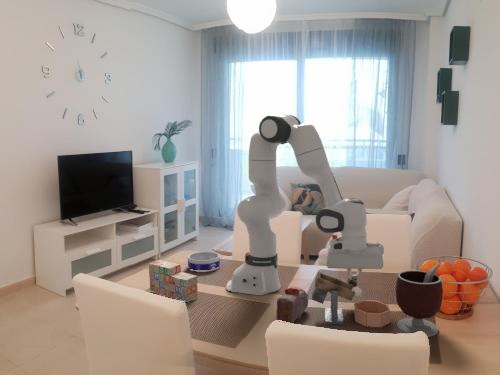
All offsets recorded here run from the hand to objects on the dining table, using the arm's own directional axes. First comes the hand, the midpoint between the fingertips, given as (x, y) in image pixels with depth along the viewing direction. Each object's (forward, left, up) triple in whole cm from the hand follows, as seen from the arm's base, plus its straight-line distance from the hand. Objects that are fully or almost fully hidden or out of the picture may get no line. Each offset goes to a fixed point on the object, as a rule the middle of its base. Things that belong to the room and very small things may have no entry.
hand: (354, 279), depth 154 cm
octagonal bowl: (+5, -12, -9) cm, 16 cm away
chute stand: (-8, -12, -9) cm, 17 cm away
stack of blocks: (-70, +1, -10) cm, 71 cm away
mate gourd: (+19, -16, -10) cm, 27 cm away
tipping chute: (-9, -7, -5) cm, 12 cm away
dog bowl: (-68, +37, -10) cm, 78 cm away
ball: (0, -12, 0) cm, 12 cm away
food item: (-22, -13, -10) cm, 27 cm away
